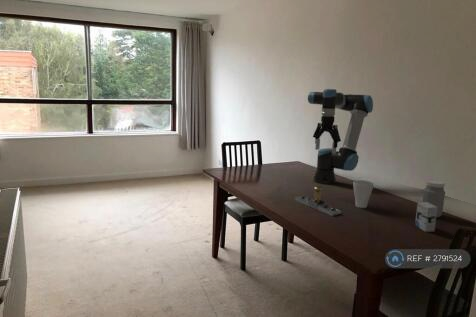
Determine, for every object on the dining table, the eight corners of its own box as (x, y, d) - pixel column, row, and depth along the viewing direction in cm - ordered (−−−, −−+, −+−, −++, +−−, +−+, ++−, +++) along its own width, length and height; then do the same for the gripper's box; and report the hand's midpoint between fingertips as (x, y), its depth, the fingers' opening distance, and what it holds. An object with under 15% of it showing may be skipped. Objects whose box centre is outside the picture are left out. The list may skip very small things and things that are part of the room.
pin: (316, 204, 199) (318, 185, 196) (323, 207, 195) (324, 188, 192) (310, 206, 196) (311, 186, 194) (316, 208, 192) (317, 189, 190)
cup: (361, 210, 191) (363, 186, 189) (347, 204, 200) (349, 181, 198) (375, 207, 196) (377, 184, 193) (360, 202, 205) (363, 179, 203)
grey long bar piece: (294, 200, 206) (295, 194, 205) (303, 198, 209) (303, 192, 208) (331, 216, 182) (332, 209, 181) (340, 213, 185) (341, 207, 185)
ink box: (414, 224, 173) (417, 201, 170) (423, 224, 173) (427, 201, 171) (424, 231, 164) (428, 207, 162) (434, 231, 165) (438, 207, 163)
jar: (417, 211, 192) (421, 179, 189) (435, 212, 192) (440, 179, 188) (426, 218, 183) (430, 184, 179) (445, 218, 182) (450, 184, 179)
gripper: (308, 114, 218) (306, 148, 222) (339, 117, 197) (336, 155, 202) (317, 114, 222) (315, 147, 226) (349, 117, 201) (345, 154, 205)
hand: (325, 151), depth 214 cm, fingers open, 13 cm apart
